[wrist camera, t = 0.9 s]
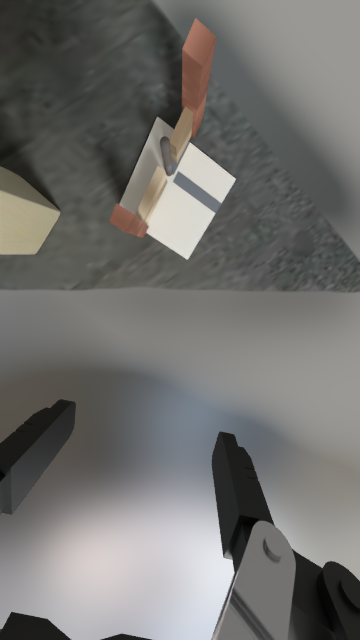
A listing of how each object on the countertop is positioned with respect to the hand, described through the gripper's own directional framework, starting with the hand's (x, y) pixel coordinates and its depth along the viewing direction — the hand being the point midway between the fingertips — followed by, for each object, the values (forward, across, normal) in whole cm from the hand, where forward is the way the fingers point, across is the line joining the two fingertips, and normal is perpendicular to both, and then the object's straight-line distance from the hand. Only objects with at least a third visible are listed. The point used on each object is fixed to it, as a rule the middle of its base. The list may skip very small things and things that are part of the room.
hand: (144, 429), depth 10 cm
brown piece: (+20, +3, -24) cm, 31 cm away
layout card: (+20, +3, -19) cm, 28 cm away
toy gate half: (+19, +6, -17) cm, 26 cm away
